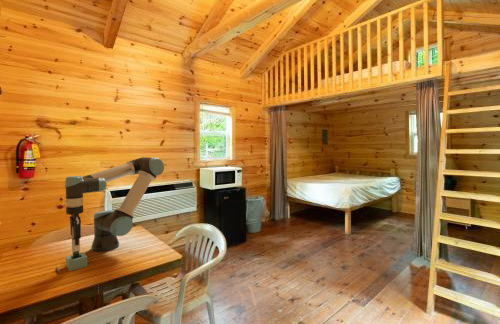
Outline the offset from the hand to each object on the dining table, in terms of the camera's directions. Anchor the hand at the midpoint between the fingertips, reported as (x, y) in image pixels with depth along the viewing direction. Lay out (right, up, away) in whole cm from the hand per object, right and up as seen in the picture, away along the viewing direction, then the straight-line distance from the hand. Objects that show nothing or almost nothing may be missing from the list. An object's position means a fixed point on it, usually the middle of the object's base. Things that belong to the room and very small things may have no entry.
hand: (75, 249), depth 138 cm
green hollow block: (0, -9, +1) cm, 9 cm away
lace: (-6, -9, -5) cm, 12 cm away
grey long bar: (0, -4, 0) cm, 4 cm away
